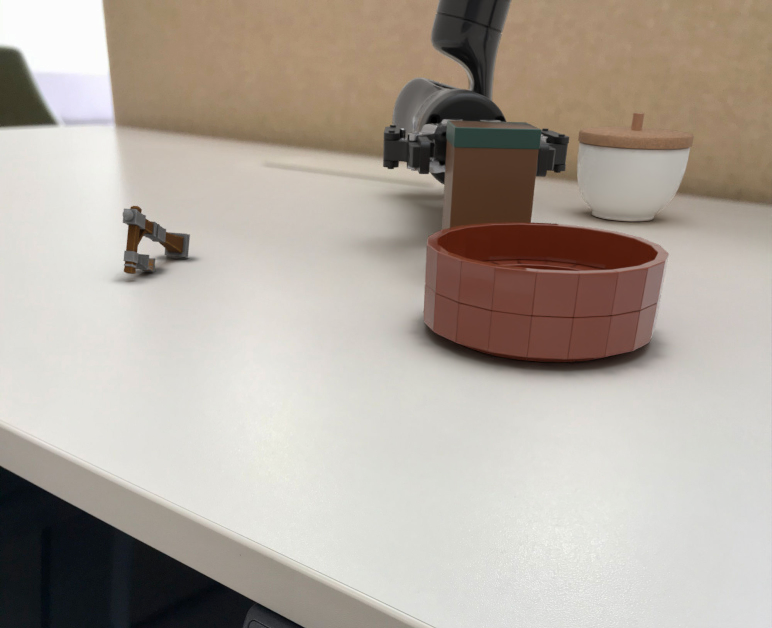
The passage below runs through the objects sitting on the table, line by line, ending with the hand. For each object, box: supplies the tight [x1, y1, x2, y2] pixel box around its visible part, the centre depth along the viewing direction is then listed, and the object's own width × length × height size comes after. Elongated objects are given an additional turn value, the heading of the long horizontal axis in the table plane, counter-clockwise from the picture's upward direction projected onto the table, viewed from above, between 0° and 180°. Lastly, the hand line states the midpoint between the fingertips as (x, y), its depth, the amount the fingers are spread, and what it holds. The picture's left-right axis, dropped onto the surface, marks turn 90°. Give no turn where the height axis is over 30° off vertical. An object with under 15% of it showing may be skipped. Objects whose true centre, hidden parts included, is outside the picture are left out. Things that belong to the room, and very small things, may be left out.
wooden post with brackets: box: [122, 205, 191, 275], centre depth 59 cm, size 2×8×4 cm, turn 167°
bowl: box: [422, 222, 670, 363], centre depth 47 cm, size 13×13×5 cm
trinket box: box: [576, 112, 694, 222], centre depth 80 cm, size 11×11×9 cm
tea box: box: [441, 120, 542, 230], centre depth 57 cm, size 6×6×10 cm
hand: (484, 159), depth 59 cm, fingers open, 8 cm apart
